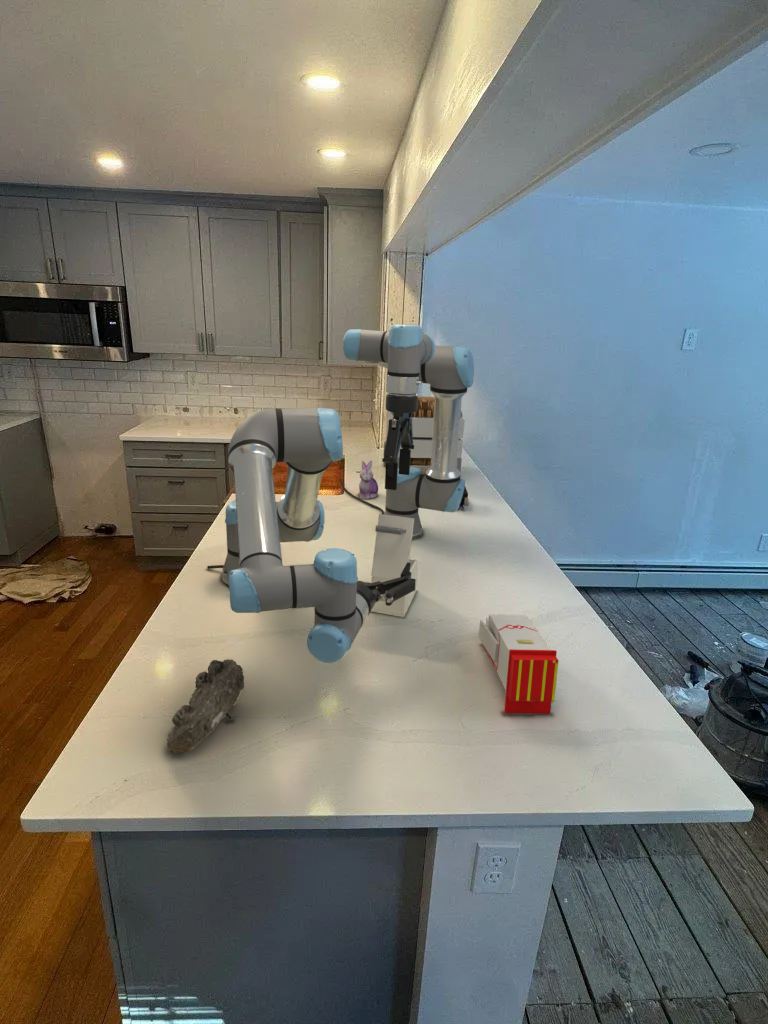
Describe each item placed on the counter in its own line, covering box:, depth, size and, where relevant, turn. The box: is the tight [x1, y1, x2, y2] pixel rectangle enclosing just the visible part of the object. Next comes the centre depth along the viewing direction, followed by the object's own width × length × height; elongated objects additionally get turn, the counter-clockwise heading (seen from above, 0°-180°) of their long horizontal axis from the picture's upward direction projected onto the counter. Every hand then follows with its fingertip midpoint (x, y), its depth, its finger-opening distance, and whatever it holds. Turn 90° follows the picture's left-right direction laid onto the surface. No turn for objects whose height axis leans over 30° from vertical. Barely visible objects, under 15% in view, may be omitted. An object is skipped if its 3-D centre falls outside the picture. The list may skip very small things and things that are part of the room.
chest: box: [370, 557, 419, 618], centre depth 152 cm, size 15×9×10 cm, turn 165°
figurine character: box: [458, 486, 470, 511], centre depth 230 cm, size 7×8×15 cm
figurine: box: [358, 460, 379, 500], centre depth 236 cm, size 9×10×15 cm
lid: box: [370, 513, 414, 579], centre depth 140 cm, size 16×9×8 cm
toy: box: [477, 613, 560, 715], centre depth 124 cm, size 12×13×30 cm
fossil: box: [166, 658, 245, 754], centre depth 106 cm, size 22×10×15 cm
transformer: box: [382, 395, 465, 474], centre depth 268 cm, size 34×33×41 cm
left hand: (380, 563), depth 132 cm, fingers open, 13 cm apart
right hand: (397, 481), depth 139 cm, fingers open, 13 cm apart
